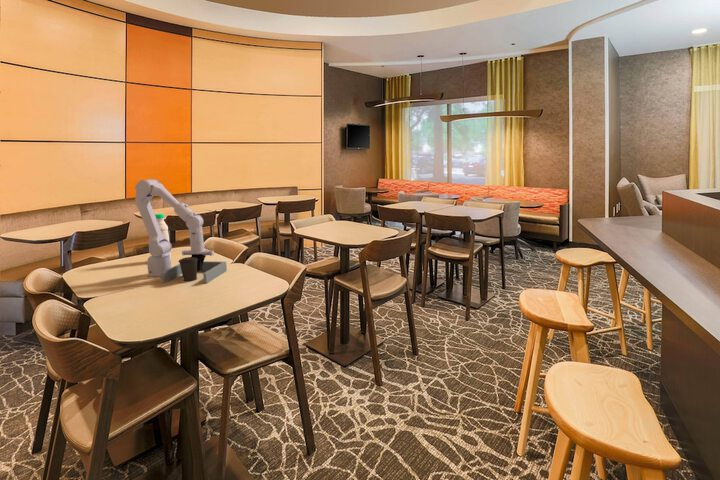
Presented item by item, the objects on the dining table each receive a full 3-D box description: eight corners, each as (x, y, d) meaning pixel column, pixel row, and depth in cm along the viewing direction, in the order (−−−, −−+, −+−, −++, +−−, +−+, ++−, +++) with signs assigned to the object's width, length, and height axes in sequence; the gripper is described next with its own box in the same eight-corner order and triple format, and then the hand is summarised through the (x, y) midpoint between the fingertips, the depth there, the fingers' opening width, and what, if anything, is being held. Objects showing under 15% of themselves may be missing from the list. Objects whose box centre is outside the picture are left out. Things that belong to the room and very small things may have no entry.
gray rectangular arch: (162, 282, 176) (161, 272, 176) (186, 269, 196) (185, 261, 195) (206, 283, 174) (205, 273, 173) (226, 270, 194) (226, 261, 193)
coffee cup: (204, 278, 182) (201, 256, 180) (189, 283, 175) (187, 261, 173) (190, 276, 185) (188, 255, 183) (176, 281, 178) (173, 259, 176)
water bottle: (160, 259, 218) (154, 213, 213) (173, 258, 219) (168, 212, 213) (154, 262, 211) (149, 215, 206) (168, 262, 212) (163, 214, 207)
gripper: (215, 240, 189) (218, 268, 191) (186, 239, 190) (189, 267, 193) (208, 243, 182) (211, 272, 185) (178, 242, 183) (181, 271, 186)
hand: (199, 270), depth 188 cm, fingers closed
